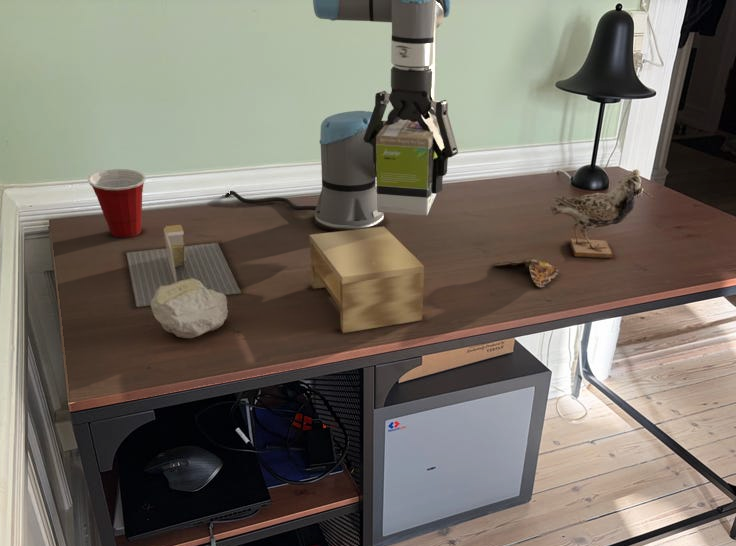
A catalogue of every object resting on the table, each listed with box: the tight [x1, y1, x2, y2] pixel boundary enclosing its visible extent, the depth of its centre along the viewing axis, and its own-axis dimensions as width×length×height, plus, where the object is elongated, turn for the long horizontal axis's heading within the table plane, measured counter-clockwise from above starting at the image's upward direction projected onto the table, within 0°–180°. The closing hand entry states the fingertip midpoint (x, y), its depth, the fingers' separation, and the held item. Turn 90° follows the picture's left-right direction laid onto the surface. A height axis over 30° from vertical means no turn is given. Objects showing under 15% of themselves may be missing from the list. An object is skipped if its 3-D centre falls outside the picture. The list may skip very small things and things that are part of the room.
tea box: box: [376, 118, 439, 217], centre depth 140 cm, size 15×10×15 cm, turn 172°
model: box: [163, 224, 187, 281], centre depth 136 cm, size 3×11×8 cm, turn 23°
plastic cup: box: [87, 168, 147, 238], centre depth 150 cm, size 11×11×12 cm
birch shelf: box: [308, 226, 425, 334], centre depth 127 cm, size 14×19×10 cm
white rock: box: [149, 278, 229, 339], centre depth 117 cm, size 12×8×10 cm
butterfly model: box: [496, 258, 560, 288], centre depth 144 cm, size 9×12×3 cm
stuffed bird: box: [548, 168, 653, 259], centre depth 151 cm, size 10×20×17 cm, turn 107°
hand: (408, 186), depth 142 cm, fingers closed on tea box, 11 cm apart
